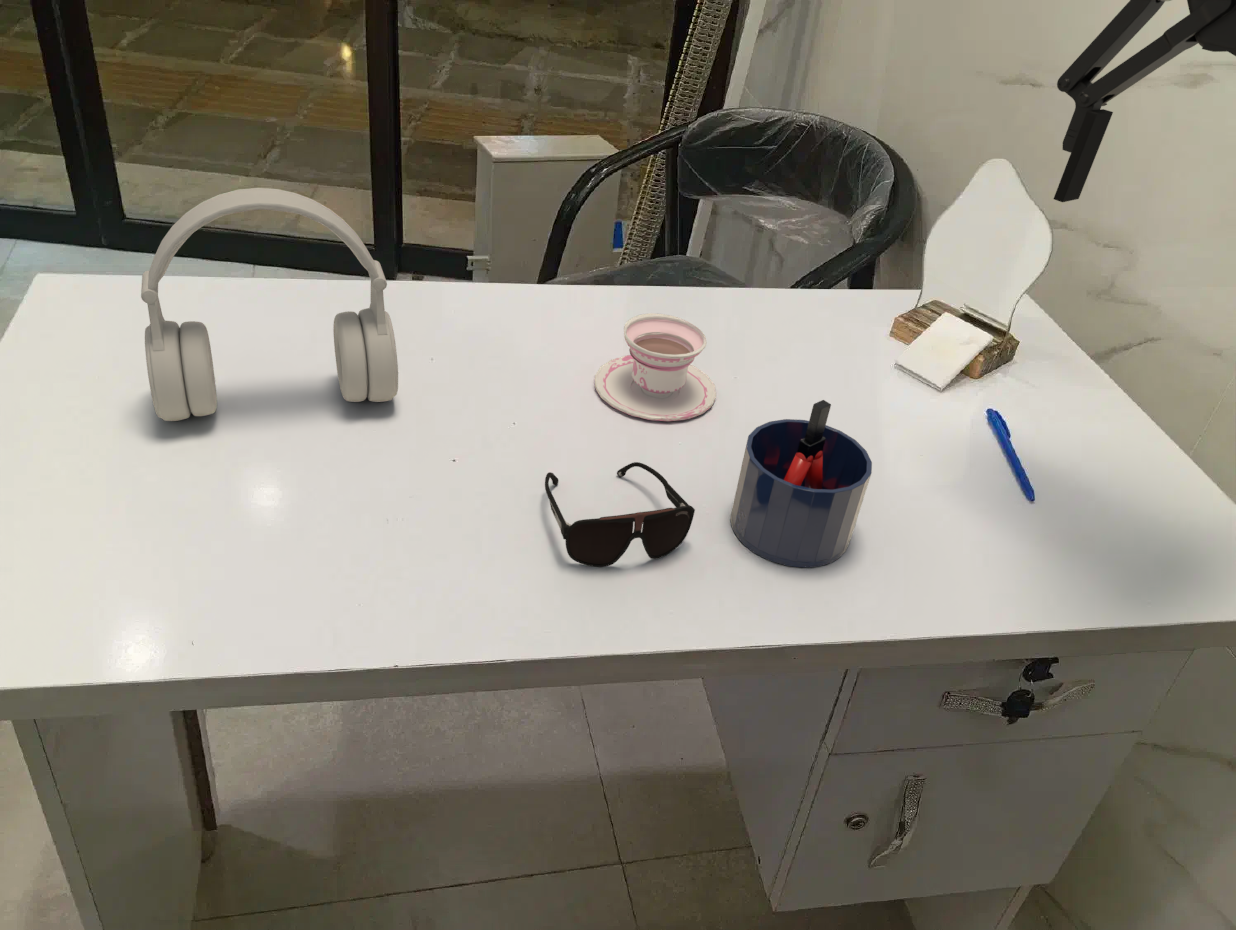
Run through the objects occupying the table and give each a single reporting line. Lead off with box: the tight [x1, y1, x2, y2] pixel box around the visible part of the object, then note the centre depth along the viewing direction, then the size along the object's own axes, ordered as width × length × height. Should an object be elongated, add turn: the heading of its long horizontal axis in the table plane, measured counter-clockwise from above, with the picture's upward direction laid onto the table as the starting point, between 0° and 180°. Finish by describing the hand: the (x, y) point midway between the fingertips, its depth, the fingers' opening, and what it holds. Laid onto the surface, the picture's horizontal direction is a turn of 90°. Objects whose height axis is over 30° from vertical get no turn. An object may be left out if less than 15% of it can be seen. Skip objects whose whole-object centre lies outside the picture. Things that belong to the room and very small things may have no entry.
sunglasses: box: [544, 461, 696, 568], centre depth 79 cm, size 10×12×5 cm
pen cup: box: [730, 418, 873, 568], centre depth 80 cm, size 10×10×8 cm
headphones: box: [140, 187, 399, 422], centre depth 83 cm, size 20×8×19 cm, turn 109°
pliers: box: [784, 399, 832, 489], centre depth 78 cm, size 3×7×12 cm, turn 131°
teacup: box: [594, 312, 717, 422], centre depth 96 cm, size 12×12×6 cm
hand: (1152, 230), depth 72 cm, fingers open, 13 cm apart
